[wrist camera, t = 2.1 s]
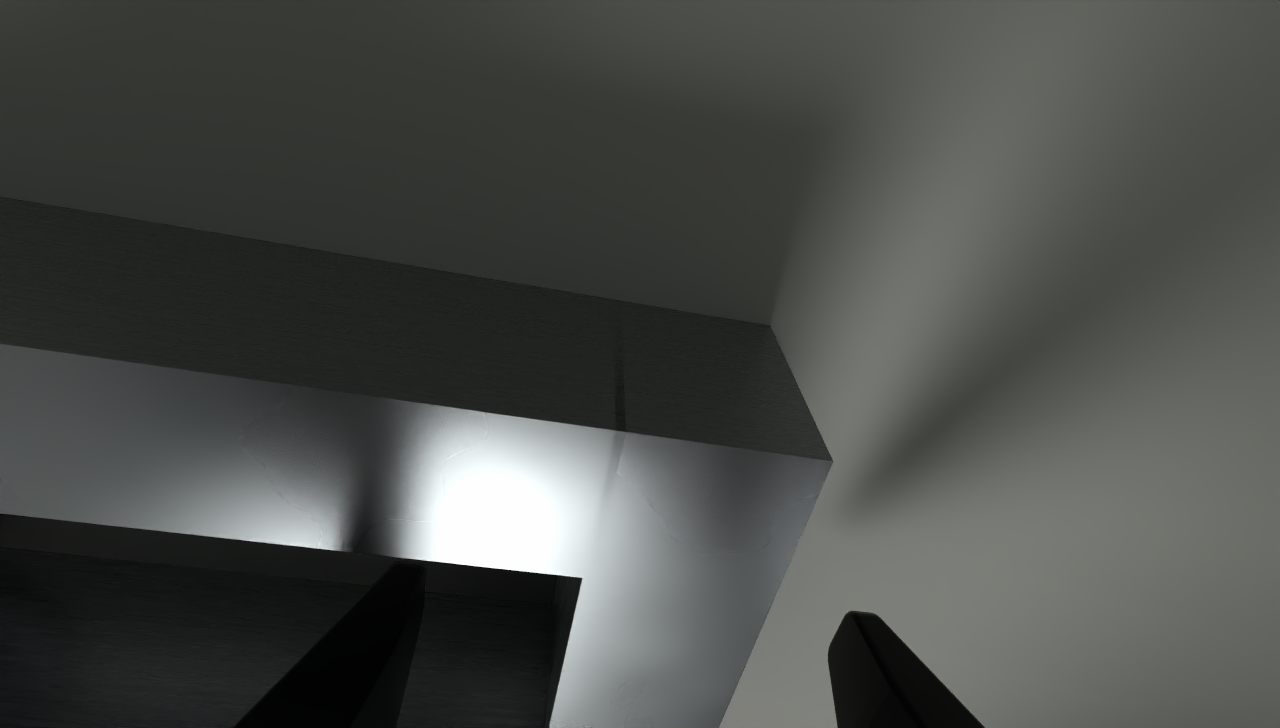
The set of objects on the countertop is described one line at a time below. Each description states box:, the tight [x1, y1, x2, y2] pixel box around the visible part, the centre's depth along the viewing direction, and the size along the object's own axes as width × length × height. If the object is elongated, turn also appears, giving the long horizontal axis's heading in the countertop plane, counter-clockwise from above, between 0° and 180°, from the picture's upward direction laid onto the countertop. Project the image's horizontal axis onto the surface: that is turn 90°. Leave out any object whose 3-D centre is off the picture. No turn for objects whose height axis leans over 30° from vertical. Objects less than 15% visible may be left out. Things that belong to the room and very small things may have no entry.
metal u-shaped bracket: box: [0, 197, 833, 728], centre depth 9 cm, size 14×8×3 cm, turn 79°
